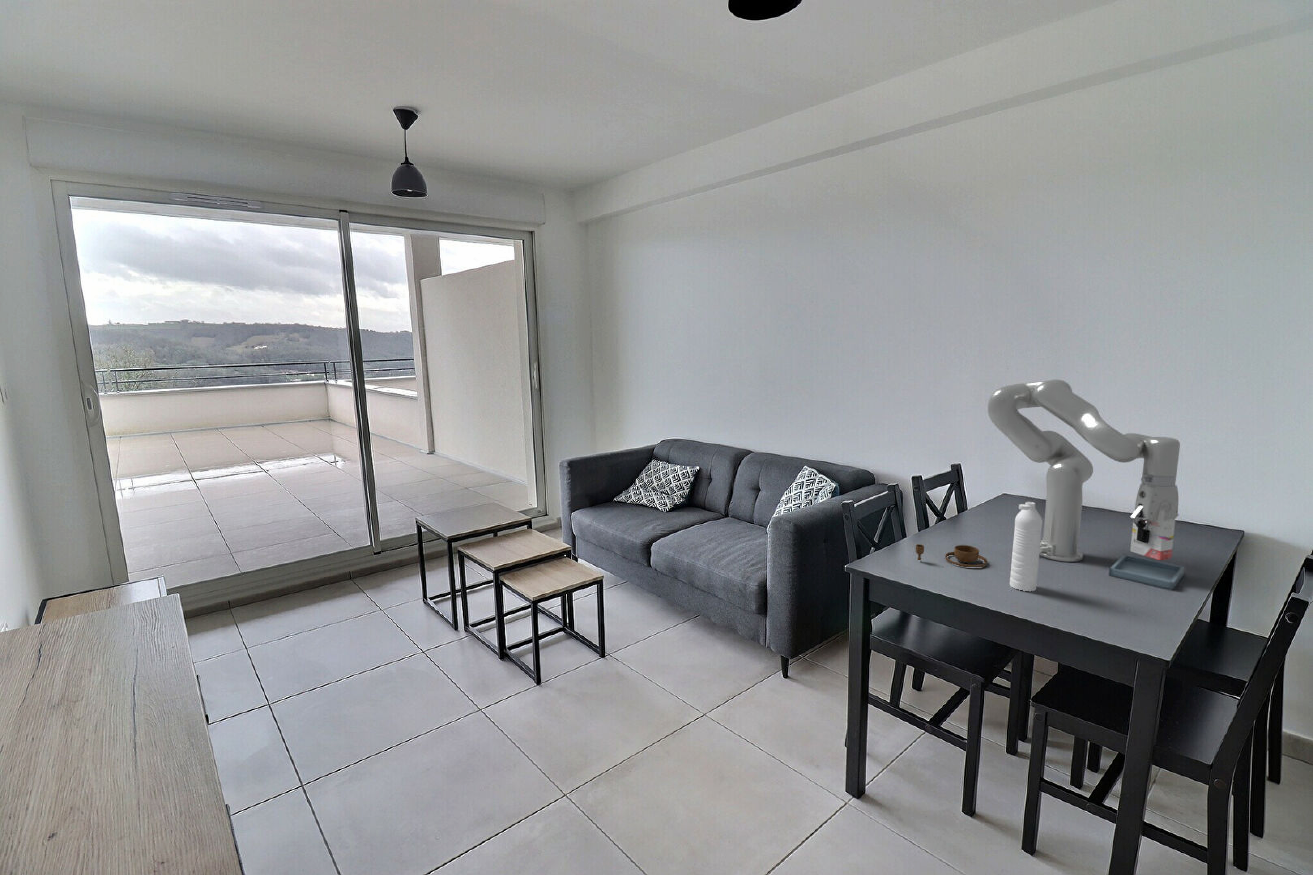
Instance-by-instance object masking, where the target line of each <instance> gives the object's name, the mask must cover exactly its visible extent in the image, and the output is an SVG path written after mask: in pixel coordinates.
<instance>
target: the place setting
mask: <svg viewBox="0 0 1313 875" xmlns="http://www.w3.org/2000/svg"><path fill="white" fill-rule="evenodd" d="M915 553H916V554H917V561H918V560H920V561H922V555H923V554H924V553H925V545H924V544H915ZM949 555H955V556H954V557H955V559H956V560H958V562H956V561H955V560H954V561H953V560H951V559H949V558H947V556H949ZM944 558H945V561H946V562H947V561H948V562H947V563H949V562H950V563H953V564H956V565H959V566H963V567H983V568H985V567H986V566H987V565H988V559H987V558H986V557H985V556H982V555H980V549H979V548H977V547H976V546H972V545H967V544H966V545H964V544H958V545H956V546H954V551H949V552H947V553H945V555H944ZM978 558H979V559H982V560H984V562H985V563H983V564H973V563H974V562H977V560H979V559H978ZM959 561H961V562H964V563H961V562H959ZM972 562H973V563H972ZM950 563H949V564H950ZM965 563H972V564H965ZM984 566H985V567H984ZM963 567H962V568H963Z"/></svg>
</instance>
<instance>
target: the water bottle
mask: <svg viewBox="0 0 1313 875" xmlns="http://www.w3.org/2000/svg"><path fill="white" fill-rule="evenodd" d="M1018 509H1019V510H1020V511H1019V512H1018V513H1017V514H1016V516H1015V519H1014V531H1013V533H1014V534H1013V544H1012V553H1011V566H1010V569H1011V570H1010V577H1009V586H1010V587H1011V588H1012V587H1013V588H1012V589H1014V588H1015V590H1016V589H1019V590H1018V591H1020V590H1023V591H1022V592H1025V591H1029V592H1031V591H1032V592H1035V591H1036V590H1037V583H1038V581H1037V580H1038V572H1039V561H1040V555H1039V553H1040V542H1041V541H1040V540H1041V539H1042V538H1041V537H1042V530H1043V529H1042V528H1043V518H1042V516H1041V515H1040V513H1039V512H1038V510H1037V509H1036V503H1035V502H1032V501H1026V502H1025V504H1024V503H1021V504H1018Z"/></svg>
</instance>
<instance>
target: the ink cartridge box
mask: <svg viewBox="0 0 1313 875" xmlns="http://www.w3.org/2000/svg"><path fill="white" fill-rule="evenodd" d="M1164 516H1165V511H1164V510H1159V516H1158V520H1157V521H1151V523H1150V525H1149V528H1148V530H1150V534H1149V542H1148V543H1144V542H1141V541H1138V540H1137V531H1138V527H1136V524H1135V523H1134V522H1133V521H1132V530H1131V540H1130V550H1129V551H1130V552H1132V553H1135V554H1137V555H1141V556H1144V557H1148V558H1150V559H1153V560H1155V561H1163V560H1169V559H1172V555H1173V545H1174V536H1175V527H1176V526H1175V525H1176V518H1175V519H1164ZM1143 518H1144V517H1143ZM1145 521H1146V520H1143V523H1144V524H1145Z"/></svg>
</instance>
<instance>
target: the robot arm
mask: <svg viewBox="0 0 1313 875" xmlns="http://www.w3.org/2000/svg"><path fill="white" fill-rule="evenodd" d="M1040 407H1041V408H1042V409H1044V410H1045V411H1047V413H1049V414H1052V415H1053V416H1054V417H1056V418H1057V419H1059V420H1060V421H1062V422H1064V423H1065V424H1066V425H1068V426H1069V427H1070V428H1072V429H1073V430H1074V431H1075V432H1076V433H1077V434H1078V435H1079V436H1080V437H1081V438H1082V439H1083V440H1084V441H1086V442H1087V444H1089V445H1090V446H1092V448H1094V449H1095V450H1097V451H1099V453H1102V454H1103V455H1104V456H1106V457H1108V458H1109V459H1111V460H1113V461H1115V462H1118V463H1130V462H1133V461H1134V460H1136V459H1137V460H1138V459H1143V465H1142V466H1143V467H1142V473H1141V474H1142V476H1141V477H1140V482H1141V483H1140V485H1139V487H1138V490H1137V494H1136V498H1135V504H1134V511H1133V513H1132V514H1131V515H1130V517H1129V519H1130V520H1131V521H1132V523H1133V522H1134V523H1135V524H1136V527H1138V531H1137V540H1138V541H1141V542H1144V543H1148V542H1149V534H1150V530H1148V528H1149V525H1150V523H1151V521H1157V520H1158V516H1159V510H1164V511H1165V516H1164V519H1175V520H1176V519H1177V518H1178V517H1179V515H1180V514H1179V489H1178V486H1177V483H1176V481H1177V474H1178V473H1177V472H1178V466H1179V458H1180V451H1181V450H1180V448H1181V443H1180V441H1179V439H1176V438H1173V437H1167V436H1149V435H1144V434H1141V433H1140V434H1139V433H1136V432H1135V433H1134V432H1129V433H1124V434H1123V433H1122V432H1120V431H1119V430H1117V429H1115V428H1114V427H1112V426H1111V425H1110V424H1108V423H1107V422H1106V420H1104V419H1103V418H1102V417H1101V414H1100V413H1099V411H1098V409H1097V407H1096V406H1094V404H1092V403H1090V402H1089V401H1087V400H1085V399H1084V398H1082V397H1080V396H1079V395H1078V394H1076V393H1074V392H1073V388H1072V386H1070V384H1069V383H1068V382H1066V381H1064V380H1061V379H1050V380H1044V381H1043V380H1042V381H1033V382H1024V383H1023V382H1022V383H1016V384H1010V385H1005V386H1001V387H999V388H998V389H995V391H994V392H993V393H992V394H991V395H990V397H989V400H988V403H987V413H988V417H989V419H990V420H991V422H992V424H993V425H994V426H995V428H997V429H998V430H999V432H1001V433H1002V434H1003V435H1004V436H1005V437H1007V439H1008V440H1009V441H1010V442H1011V443H1012V444H1013V445H1014V446H1015V447H1017V449H1019V450H1020V452H1022V453H1023V454H1024V455H1025V456H1026V457H1027V458H1028V459H1029V460H1030V461H1032V462H1033V463H1034V462H1035V463H1039V464H1041V463H1047V464H1048V465H1050V466H1049V467H1048V470H1047V471H1046V476H1045V477H1046V478H1045V479H1046V482H1045V483H1046V485H1045V486H1046V497H1045V510H1044V523H1043V529H1042V530H1043V532H1042V538H1041V540H1040V541H1041V542H1040V553H1039V556H1041V557H1043V558H1046V559H1050V560H1054V561H1059V562H1068V563H1069V562H1079V561H1082V560H1083V558H1084V557H1083V556H1084V554H1083V552H1080V551H1079V550H1078V546H1079V539H1080V538H1079V537H1080V528H1081V518H1082V510H1083V509H1082V508H1083V507H1082V506H1083V485H1084V483H1086V482H1087V481H1089V480H1090V479H1091V477H1092V475H1093V473H1094V467H1093V464H1092V462H1091V460H1090V459H1088V457H1087V456H1085V455H1084V453H1082V451H1080V450H1079V449H1078V448H1077V447H1075V446H1074V445H1073V444H1072V442H1070V441H1069V440H1068V439H1067V438H1065V437H1064V436H1063V435H1062V434H1060V433H1059V432H1056V431H1052V430H1044V431H1043V430H1041V429H1040V428H1039V427H1037V425H1036V424H1034V423H1033V422H1032V421H1031V419H1029V418H1027V416H1025V415H1023V414H1022V413H1021V412H1020V411H1019V410H1021V409H1029V408H1040ZM1143 517H1144V518H1143ZM1143 520H1146V521H1145V524H1144V523H1143Z"/></svg>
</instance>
